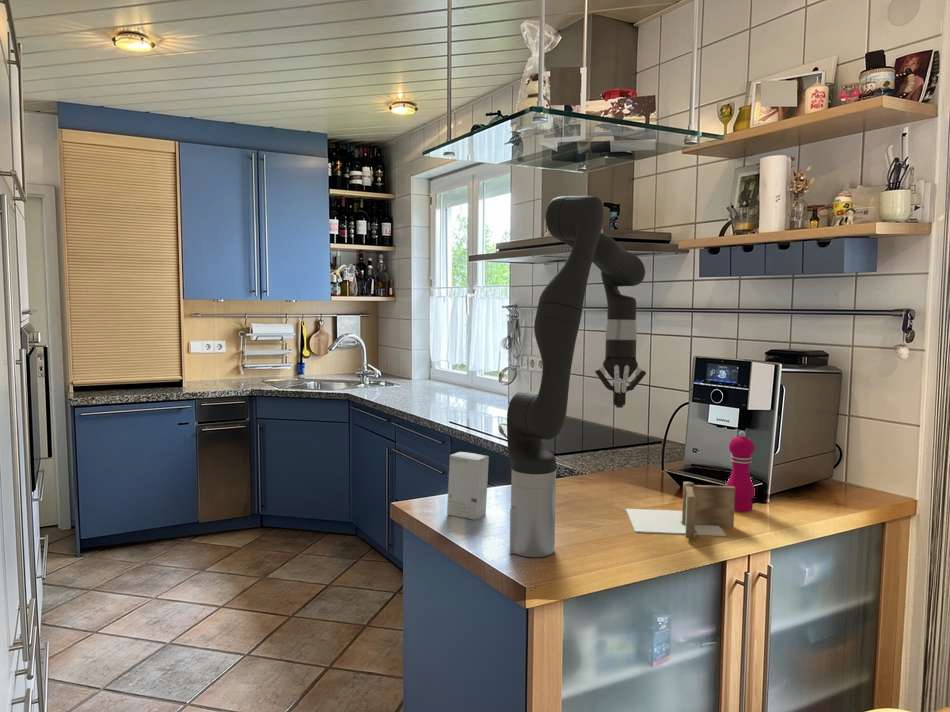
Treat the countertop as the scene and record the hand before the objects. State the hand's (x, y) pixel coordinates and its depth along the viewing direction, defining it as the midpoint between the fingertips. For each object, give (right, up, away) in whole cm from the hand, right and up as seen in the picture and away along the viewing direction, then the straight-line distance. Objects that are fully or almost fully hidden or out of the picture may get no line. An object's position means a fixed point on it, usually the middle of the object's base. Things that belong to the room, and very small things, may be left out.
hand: (619, 407), depth 170 cm
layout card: (+11, -27, -9) cm, 30 cm away
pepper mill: (+31, -26, +3) cm, 41 cm away
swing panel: (+12, -26, -17) cm, 34 cm away
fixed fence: (+18, -27, -11) cm, 34 cm away
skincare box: (-38, -26, -5) cm, 46 cm away
